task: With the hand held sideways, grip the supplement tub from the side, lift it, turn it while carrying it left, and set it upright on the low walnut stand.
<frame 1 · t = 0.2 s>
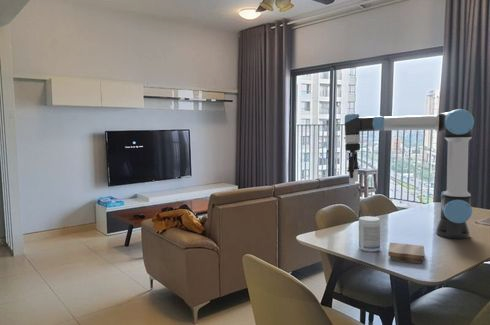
hand: (353, 182, 198), 27 cm above the table, tool pointing down, fingers open, 13 cm apart
supplement tub: (369, 249, 173), on the table
walnut stand: (406, 257, 161), on the table
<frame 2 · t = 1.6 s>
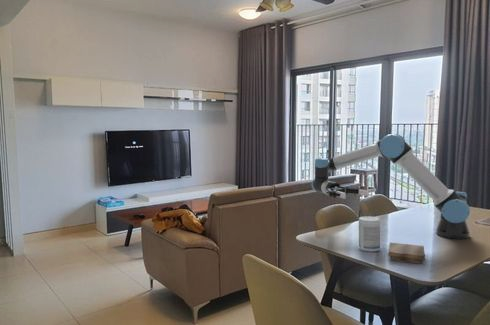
hand: (356, 194, 180), 24 cm above the table, tool horizontal, fingers open, 13 cm apart
nothing on the table moved.
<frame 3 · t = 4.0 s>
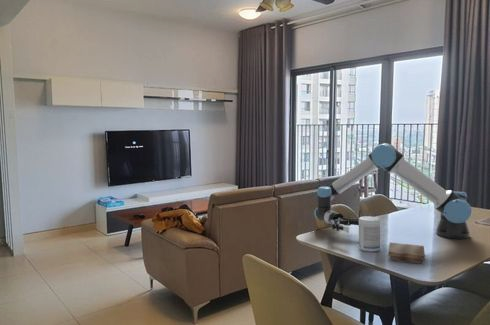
hand: (359, 228, 178), 8 cm above the table, tool horizontal, fingers open, 13 cm apart
nothing on the table moved.
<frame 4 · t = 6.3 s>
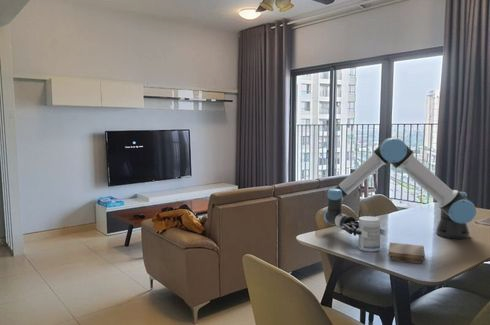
hand: (375, 233, 168), 9 cm above the table, tool horizontal, fingers closed on supplement tub, 9 cm apart
supplement tub: (369, 249, 173), on the table, touching gripper
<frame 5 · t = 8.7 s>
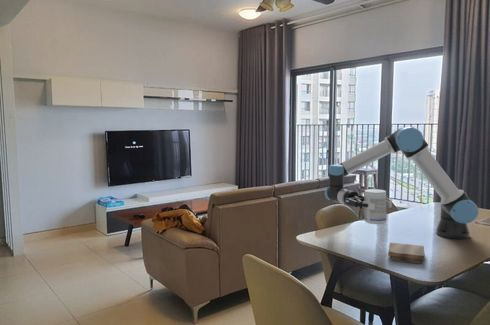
hand: (382, 205, 165), 22 cm above the table, tool horizontal, fingers closed on supplement tub, 9 cm apart
supplement tub: (374, 222, 170), point 13 cm above the table, touching gripper
when the fingers open (14 cm above the table, at t = 11.5 s): supplement tub drops 1 cm, resting on walnut stand.
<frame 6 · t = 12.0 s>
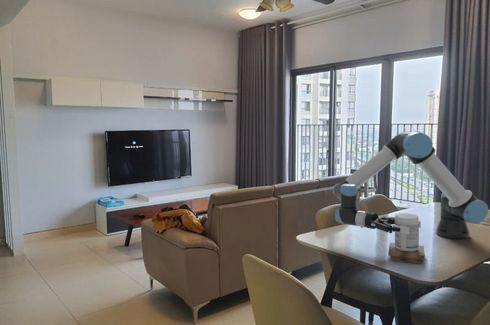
hand: (414, 227, 157), 14 cm above the table, tool horizontal, fingers open, 13 cm apart
supplement tub: (406, 249, 161), point 4 cm above the table, touching walnut stand
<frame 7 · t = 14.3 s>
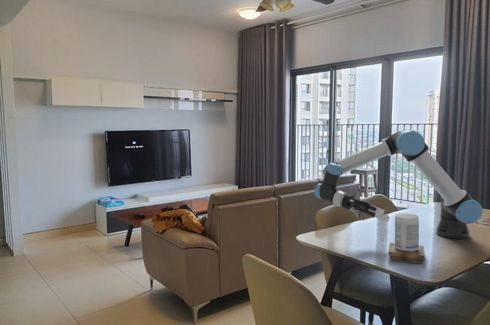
hand: (386, 216, 170), 16 cm above the table, tool horizontal, fingers open, 13 cm apart
nothing on the table moved.
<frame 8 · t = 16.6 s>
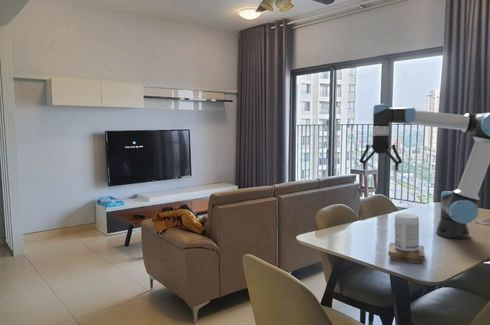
hand: (380, 176, 188), 32 cm above the table, tool pointing down, fingers open, 13 cm apart
nothing on the table moved.
at the end: supplement tub inside the target area on the walnut stand (0.1 cm from its centre), point 3.8 cm above the walnut stand's base; supplement tub tilted 0°; the gripper is holding nothing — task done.
